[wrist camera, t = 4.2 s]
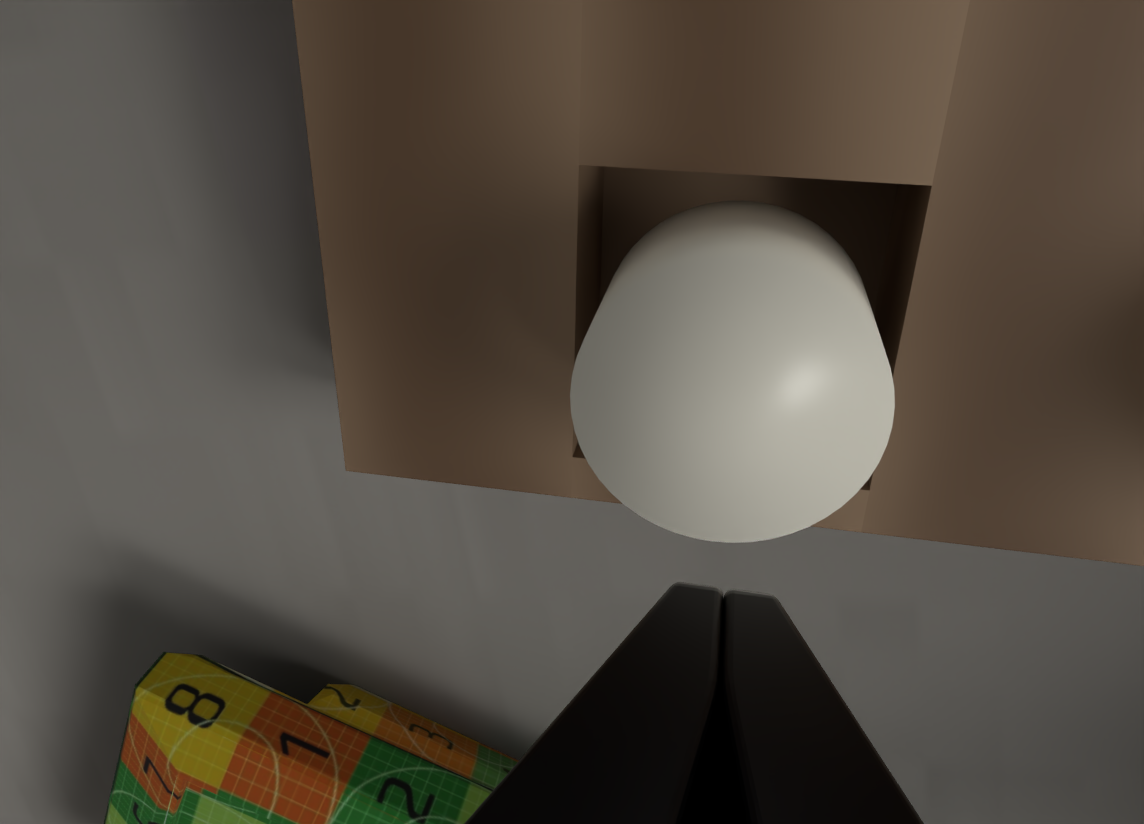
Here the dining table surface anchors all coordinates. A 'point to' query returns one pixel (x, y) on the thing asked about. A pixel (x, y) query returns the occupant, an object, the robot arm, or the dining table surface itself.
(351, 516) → the dining table surface
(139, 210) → the dining table surface
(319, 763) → the puzzle game
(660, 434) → the inner button
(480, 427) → the button board
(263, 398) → the dining table surface
